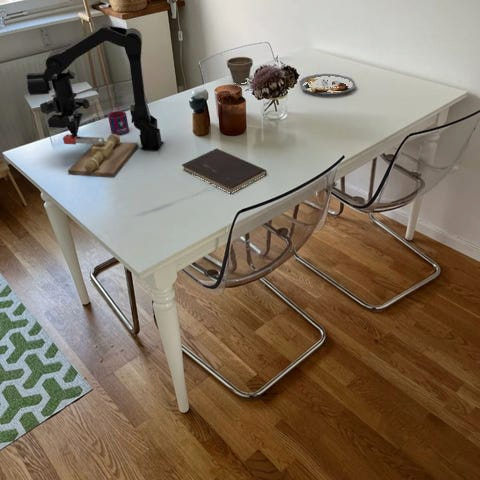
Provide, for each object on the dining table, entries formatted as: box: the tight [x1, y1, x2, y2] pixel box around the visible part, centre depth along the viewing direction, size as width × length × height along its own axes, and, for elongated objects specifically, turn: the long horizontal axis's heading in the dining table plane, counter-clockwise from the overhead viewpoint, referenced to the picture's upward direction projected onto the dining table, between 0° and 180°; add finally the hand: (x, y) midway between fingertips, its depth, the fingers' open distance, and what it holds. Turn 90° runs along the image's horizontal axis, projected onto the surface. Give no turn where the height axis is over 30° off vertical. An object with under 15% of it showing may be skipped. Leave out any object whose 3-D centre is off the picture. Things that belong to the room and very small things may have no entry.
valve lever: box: [62, 134, 106, 145], centre depth 174 cm, size 14×3×2 cm, turn 78°
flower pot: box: [226, 56, 254, 85], centre depth 229 cm, size 12×11×10 cm
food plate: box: [299, 73, 357, 95], centre depth 222 cm, size 25×23×4 cm
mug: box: [107, 110, 130, 136], centre depth 195 cm, size 7×10×7 cm
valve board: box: [67, 133, 139, 178], centre depth 175 cm, size 16×22×6 cm
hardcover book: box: [181, 148, 268, 194], centre depth 166 cm, size 16×23×2 cm
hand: (75, 136), depth 177 cm, fingers closed
